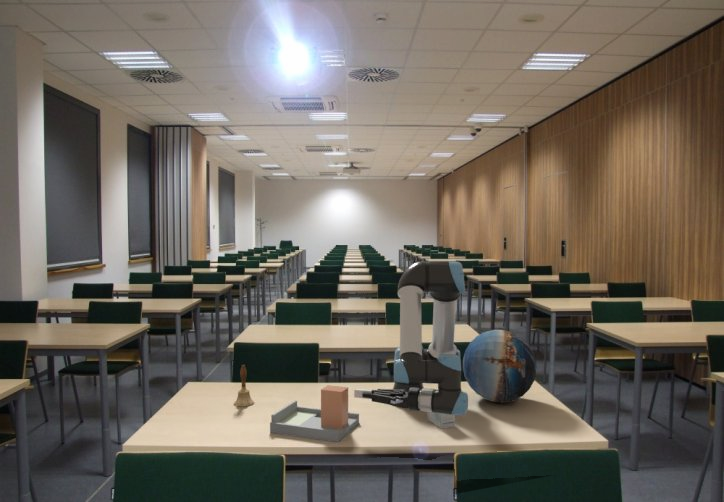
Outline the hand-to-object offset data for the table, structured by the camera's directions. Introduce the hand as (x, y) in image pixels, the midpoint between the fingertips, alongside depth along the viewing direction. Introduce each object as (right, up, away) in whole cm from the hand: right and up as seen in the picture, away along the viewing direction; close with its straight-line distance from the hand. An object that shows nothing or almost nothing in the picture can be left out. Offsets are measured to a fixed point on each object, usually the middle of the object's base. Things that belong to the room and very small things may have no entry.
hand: (355, 392), depth 193 cm
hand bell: (-46, -14, +34) cm, 59 cm away
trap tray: (-14, -14, +6) cm, 21 cm away
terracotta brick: (-7, -12, +4) cm, 15 cm away
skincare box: (+32, -14, +11) cm, 36 cm away
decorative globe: (+60, -13, +38) cm, 72 cm away
